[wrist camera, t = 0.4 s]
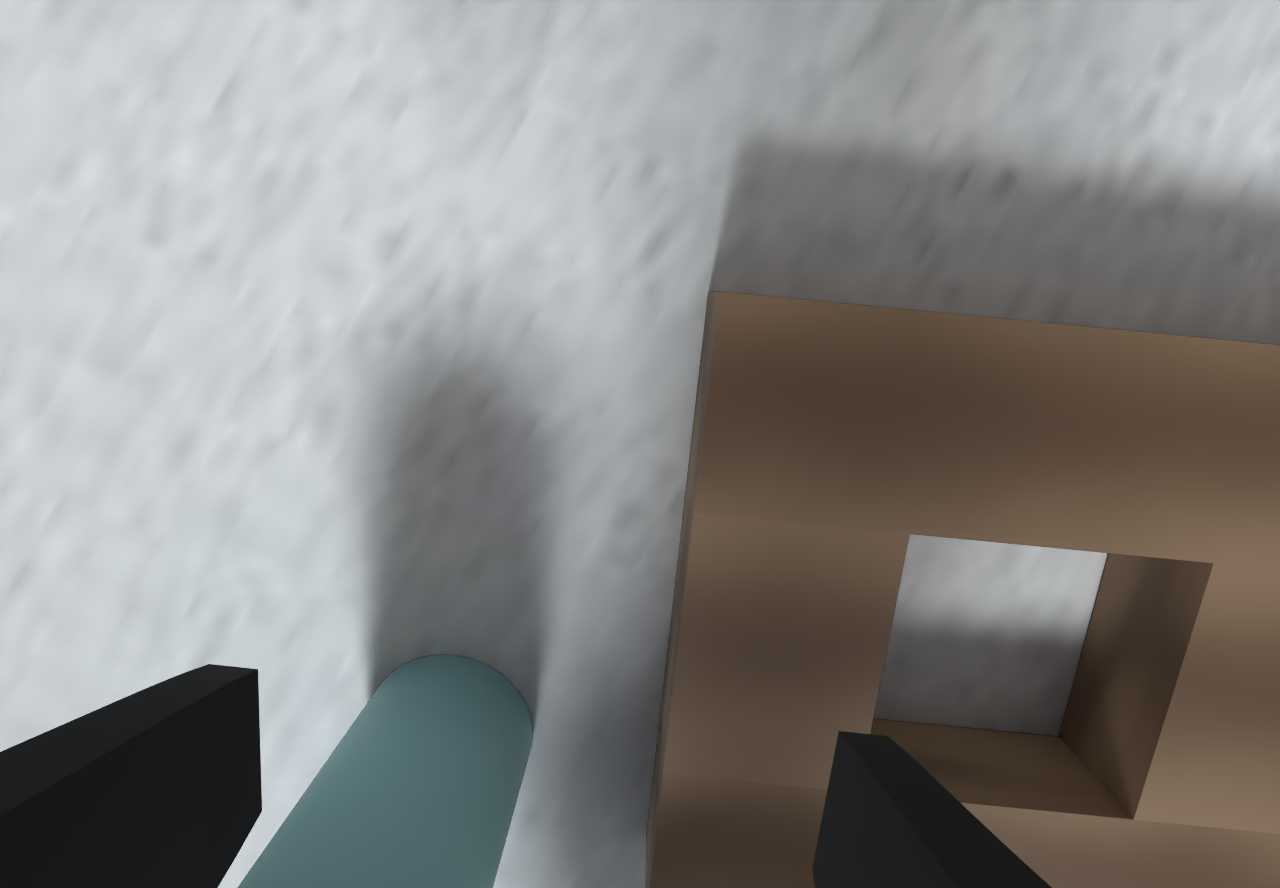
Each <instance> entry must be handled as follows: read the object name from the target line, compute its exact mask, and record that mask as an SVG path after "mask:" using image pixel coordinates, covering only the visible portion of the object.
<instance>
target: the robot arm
mask: <svg viewBox="0 0 1280 888" xmlns="http://www.w3.org/2000/svg"><path fill="white" fill-rule="evenodd" d="M261 811H262V798H261V763H260V728H259V694H258V669H249V668H240V667H230V666H221V665H211V664H208V665H205V666H203V667H200V668H197V669H194V670H191V671H188V672H186V673H183V674H181V675H178V676H175V677H173V678H170V679H168V680H166V681H163V682H161V683H158V684H156V685H153V686H151V687H149V688H146V689H144V690H142V691H139V692H137V693H135V694H132V695H130V696H128V697H125V698H123V699H121V700H118V701H116V702H114V703H112V704H109V705H107V706H105V707H102V708H100V709H98V710H96V711H93V712H91V713H89V714H86V715H84V716H82V717H80V718H77V719H75V720H73V721H70V722H68V723H66V724H64V725H61V726H59V727H57V728H54V729H52V730H50V731H47V732H45V733H43V734H41V735H38V736H36V737H34V738H31V739H29V740H27V741H25V742H22V743H20V744H18V745H15V746H13V747H11V748H9V749H6V750H4V751H2V752H0V888H217V887H218V886H219V884H220V882H221V881H222V879H223V877H224V876H225V874H226V872H227V871H228V869H229V867H230V866H231V864H232V862H233V861H234V859H235V857H236V856H237V854H238V852H239V850H240V849H241V847H242V845H243V843H244V842H245V840H246V838H247V836H248V834H249V833H250V831H251V829H252V827H253V826H254V824H255V822H256V820H257V819H258V817H259V815H260V813H261ZM812 872H813V878H814V884H815V888H1052V887H1051V886H1050V885H1048V884H1047V883H1046V882H1045V881H1044V880H1043V879H1042V878H1041V877H1040V876H1039V875H1037V874H1036V873H1035V872H1034V871H1033V870H1032V869H1031V868H1030V867H1029V866H1028V865H1026V864H1025V863H1024V862H1023V861H1022V860H1021V859H1020V858H1019V857H1018V856H1017V855H1016V854H1015V853H1013V852H1012V851H1011V850H1010V849H1009V848H1008V847H1007V846H1006V845H1005V844H1004V843H1003V842H1002V841H1000V840H999V839H998V838H997V837H996V836H995V835H994V834H993V833H992V832H991V831H990V830H989V829H988V828H987V827H986V826H984V825H983V824H982V823H981V822H980V821H979V820H978V819H977V818H976V817H975V816H974V815H973V814H972V813H971V812H970V811H969V810H968V809H966V808H965V807H964V806H963V805H962V804H961V803H960V802H959V801H958V800H957V799H956V798H955V797H954V796H953V795H952V794H951V793H950V792H949V791H947V790H946V789H945V788H944V787H943V786H942V785H941V784H940V783H939V782H938V781H937V780H936V779H935V778H934V777H933V776H932V775H931V774H930V773H928V772H927V771H926V770H925V769H924V768H923V767H922V766H921V765H920V764H919V763H918V762H917V761H916V760H915V759H913V758H912V757H911V756H910V755H909V754H908V753H907V752H906V751H905V750H904V749H902V748H901V747H900V746H899V745H898V744H897V743H896V742H894V741H893V740H892V739H891V738H890V737H888V736H882V735H872V734H863V733H853V732H844V731H839V732H838V737H837V742H836V747H835V753H834V758H833V763H832V768H831V773H830V779H829V784H828V789H827V794H826V799H825V805H824V810H823V815H822V820H821V825H820V831H819V836H818V841H817V846H816V852H815V857H814V862H813V867H812Z"/></svg>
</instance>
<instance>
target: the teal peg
mask: <svg viewBox="0 0 1280 888" xmlns="http://www.w3.org/2000/svg"><path fill="white" fill-rule="evenodd" d="M532 739H533V727H532V720H531V716H530V713H529V710H528V707H527V705H526V703H525V701H524V699H523V697H522V696H521V694H520V693H519V691H518V690H517V689H516V688H515V686H514V685H513V684H512V683H511V682H510V681H509V680H508V679H507V678H506V677H505V676H503V675H502V674H501V673H499V672H498V671H496V670H495V669H493V668H491V667H490V666H488V665H486V664H484V663H481V662H479V661H477V660H474V659H470V658H467V657H462V656H456V655H431V656H426V657H422V658H418V659H415V660H412V661H410V662H408V663H406V664H404V665H402V666H400V667H399V668H397V669H396V670H394V671H393V672H392V673H391V674H390V675H389V676H387V677H386V678H385V680H384V681H383V682H382V683H381V685H380V686H379V687H378V689H377V690H376V691H375V693H374V694H373V696H372V697H371V699H370V700H369V701H368V703H367V704H366V706H365V707H364V709H363V710H362V711H361V713H360V714H359V716H358V717H357V719H356V720H355V721H354V723H353V724H352V726H351V727H350V728H349V730H348V731H347V733H346V734H345V736H344V737H343V738H342V740H341V741H340V743H339V744H338V746H337V747H336V748H335V750H334V751H333V753H332V754H331V756H330V757H329V758H328V760H327V761H326V763H325V764H324V765H323V767H322V768H321V770H320V771H319V773H318V774H317V775H316V777H315V778H314V780H313V781H312V783H311V784H310V785H309V787H308V788H307V790H306V791H305V793H304V794H303V795H302V797H301V798H300V800H299V801H298V802H297V804H296V805H295V807H294V808H293V810H292V811H291V812H290V814H289V815H288V817H287V818H286V820H285V821H284V822H283V824H282V825H281V827H280V828H279V830H278V831H277V832H276V834H275V835H274V837H273V838H272V840H271V841H270V842H269V844H268V845H267V847H266V848H265V849H264V851H263V852H262V854H261V855H260V857H259V858H258V859H257V861H256V862H255V864H254V865H253V867H252V868H251V869H250V871H249V872H248V874H247V875H246V877H245V878H244V879H243V881H242V882H241V884H240V885H239V886H238V888H493V885H494V881H495V878H496V874H497V870H498V867H499V863H500V859H501V856H502V852H503V848H504V845H505V841H506V838H507V834H508V830H509V827H510V823H511V819H512V816H513V812H514V808H515V805H516V801H517V797H518V794H519V790H520V786H521V783H522V779H523V776H524V772H525V768H526V765H527V761H528V757H529V754H530V750H531V746H532Z"/></svg>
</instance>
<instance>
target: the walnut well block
mask: <svg viewBox="0 0 1280 888" xmlns="http://www.w3.org/2000/svg"><path fill="white" fill-rule="evenodd" d="M910 534H916V535H927V536H937V537H947V538H958V539H968V540H979V541H989V542H999V543H1010V544H1020V545H1030V546H1041V547H1051V548H1061V549H1072V550H1082V551H1092V552H1103V553H1109V555H1108V559H1107V562H1106V566H1105V570H1104V573H1103V577H1102V581H1101V584H1100V588H1099V592H1098V595H1097V599H1096V603H1095V606H1094V610H1093V614H1092V617H1091V621H1090V625H1089V628H1088V632H1087V636H1086V639H1085V643H1084V647H1083V650H1082V654H1081V658H1080V661H1079V665H1078V669H1077V672H1076V676H1075V680H1074V683H1073V687H1072V691H1071V694H1070V698H1069V702H1068V705H1067V709H1066V713H1065V716H1064V720H1063V724H1062V727H1061V731H1060V735H1059V737H1054V736H1044V735H1034V734H1023V733H1013V732H1003V731H992V730H982V729H972V728H962V727H951V726H941V725H931V724H921V723H910V722H900V721H890V720H880V719H873V717H874V712H875V707H876V702H877V697H878V692H879V687H880V682H881V677H882V672H883V666H884V661H885V656H886V651H887V646H888V641H889V636H890V631H891V626H892V621H893V616H894V611H895V606H896V601H897V596H898V591H899V585H900V580H901V575H902V570H903V565H904V560H905V555H906V550H907V545H908V540H909V535H910ZM839 731H844V732H853V733H863V734H872V735H882V736H888V737H890V738H891V739H892V740H893V741H894V742H896V743H897V744H898V745H899V746H900V747H901V748H902V749H904V750H905V751H906V752H907V753H908V754H909V755H910V756H911V757H912V758H913V759H915V760H916V761H917V762H918V763H919V764H920V765H921V766H922V767H923V768H924V769H925V770H926V771H927V772H928V773H930V774H931V775H932V776H933V777H934V778H935V779H936V780H937V781H938V782H939V783H940V784H941V785H942V786H943V787H944V788H945V789H946V790H947V791H949V792H950V793H951V794H952V795H953V796H954V797H955V798H956V799H957V800H958V801H959V802H960V803H961V804H962V805H963V806H964V807H965V808H966V809H968V810H969V811H970V812H971V813H972V814H973V815H974V816H975V817H976V818H977V819H978V820H979V821H980V822H981V823H982V824H983V825H984V826H986V827H987V828H988V829H989V830H990V831H991V832H992V833H993V834H994V835H995V836H996V837H997V838H998V839H999V840H1000V841H1002V842H1003V843H1004V844H1005V845H1006V846H1007V847H1008V848H1009V849H1010V850H1011V851H1012V852H1013V853H1015V854H1016V855H1017V856H1018V857H1019V858H1020V859H1021V860H1022V861H1023V862H1024V863H1025V864H1026V865H1028V866H1029V867H1030V868H1031V869H1032V870H1033V871H1034V872H1035V873H1036V874H1037V875H1039V876H1040V877H1041V878H1042V879H1043V880H1044V881H1045V882H1046V883H1047V884H1048V885H1050V886H1051V887H1052V888H1280V345H1274V344H1264V343H1253V342H1243V341H1233V340H1222V339H1212V338H1201V337H1191V336H1180V335H1170V334H1159V333H1149V332H1138V331H1128V330H1118V329H1107V328H1097V327H1086V326H1076V325H1065V324H1055V323H1044V322H1034V321H1023V320H1013V319H1002V318H992V317H982V316H971V315H961V314H950V313H940V312H929V311H919V310H908V309H898V308H887V307H877V306H867V305H856V304H846V303H835V302H825V301H814V300H804V299H793V298H783V297H772V296H762V295H752V294H741V293H731V292H720V291H714V292H708V299H707V307H706V316H705V325H704V334H703V343H702V351H701V360H700V369H699V378H698V387H697V395H696V404H695V413H694V422H693V431H692V439H691V448H690V457H689V466H688V474H687V483H686V492H685V501H684V510H683V518H682V527H681V536H680V545H679V554H678V562H677V571H676V580H675V589H674V598H673V606H672V615H671V624H670V633H669V642H668V650H667V659H666V668H665V677H664V685H663V694H662V703H661V712H660V721H659V729H658V738H657V747H656V756H655V765H654V773H653V782H652V791H651V800H650V809H649V817H648V826H647V835H646V880H645V888H815V884H814V878H813V872H812V867H813V862H814V857H815V852H816V846H817V841H818V836H819V831H820V825H821V820H822V815H823V810H824V805H825V799H826V794H827V789H828V784H829V779H830V773H831V768H832V763H833V758H834V753H835V747H836V742H837V737H838V732H839Z"/></svg>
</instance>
